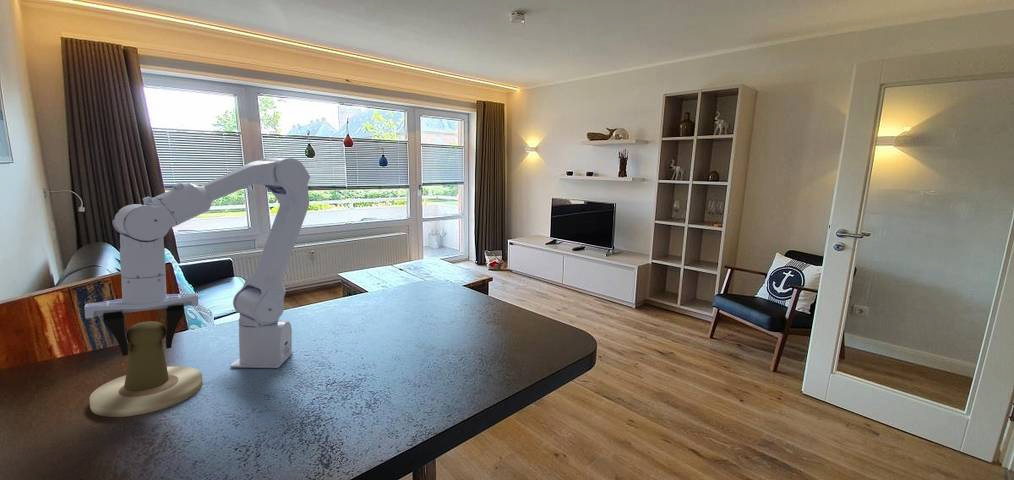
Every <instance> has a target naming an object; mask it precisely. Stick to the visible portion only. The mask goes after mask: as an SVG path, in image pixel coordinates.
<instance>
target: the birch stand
mask: <svg viewBox="0 0 1014 480" xmlns="http://www.w3.org/2000/svg"><path fill="white" fill-rule="evenodd" d="M167 371H168V376H169V380H168V381H167V382H166V383H164V384H163V385H160V386H158V387H155V388H152V389H147V390H139V391H133V390H128V389H126V388H125V387H124V384H125V378H126V374H125V375H122V376H120V377H117V378H114V379H112V380H110V381H107V382H106V383H103V384H102V385H99V387H97V388H96V389H95V390H94V391H93V392H92V393H90V395H89V398H88V399H89V409H90V411H91V413H93V414H95V415H96V416H97V415H98V416H101V417H106V418H124V417H125V418H126V417H132V416H133V417H134V416H139V415H144V414H148V413H154V412H156V411H161V410H163V409H167V408H170V407H173V406H175V405H177V404H179V403H182V402H183V401H185V400H188V399H189V398H190V397H191V398H192V397H193V396H194V395H196V393H198V392H199V390H200V389H201V388H202V387H203V373H202V372H201V371H200V370H198V369H197V368H194V367H190V366H178V365H177V366H172V365H171V366H167Z"/></svg>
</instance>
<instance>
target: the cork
mask: <svg viewBox="0 0 1014 480" xmlns="http://www.w3.org/2000/svg"><path fill="white" fill-rule="evenodd" d="M126 338H127V343H129V344H130V349H129V354H128V355H129V357H128V361H127V366H126V367H127V368H126V374H125V375H126V378H125V384H124V387H125V388H126V389H128V390H133V391H139V390H147V389H152V388H155V387H158V386H160V385H163V384H164V383H166V382H167V381H168V380H169V376H168V371H167V367H168V365H167V361H166V355H165V351H164V350H165V349H164V344H163V340H164V338H166V326H165V325H164V323H162V322H159V321H152V320H151V321H150V320H148V321H143V322H137V323H136V324H133V325H131V326H130V327H128V330H127V332H126Z"/></svg>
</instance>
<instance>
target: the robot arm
mask: <svg viewBox="0 0 1014 480" xmlns="http://www.w3.org/2000/svg"><path fill="white" fill-rule="evenodd" d="M310 178H311V175H310V173H309V172H308V170H307V169H306V167H305V166H304V164H303V163H302V162H301V161H300V160H298V159H296V158H294V157H293V158H292V157H286V158H280V157H279V158H277V157H269V156H268V157H264V158H262V159H260V160H255V161H251V162H249V163H247V164H245V165H243V166H240V167H238V168H236V169H233V170H231V171H229V172H226V173H225V174H223V175H221V176H219V177H216V178H214V179H213V180H211V181H208V182H206V183H205V184H202V185H197V184H195V183H191V182H189V183H186V184H184V183H181V182H178V183H175V184H173V185H172V187H171V188H172V189H171V190H168V191H166V192H163V193H161V194H159V195H158V194H157V195H156V196H154V197H151V196H146V197H143V198H142V201H143V204H140V203H139V204H137V203H135V204H133V203H132V204H128V205H125V206H124V207H122V208H120V209H118V212H117V213H115V216H114V219H112V225H113V228H114V229H115V231H116V232H118V233H119V244H120V247H119V262H120V263H119V265H120V279H121V295H122V296H121V297H122V298H117V299H112V300H105V301H100V302H92V303H91V302H90V303H89V302H88V303H85V305H84V318H85V319H92V318H95V317H99V316H100V317H101V316H102V318H103V320H102V322H103V324H104V326H105V327H106V328H107V329H108V330H109V332H110V333H111V334H112V336H113V337H114V339H115V340H116V342H117V344H118V346H119V349H120V352H121V356H122V357H125V356H128V355H129V345H128V343H129V342H128V340H127V332H126V314H125V313H136V312H143V311H152V310H160V309H161V310H162V309H165V320H166V321H165V322H166V326H165V328H166V334H165V348H166V349H167V350H168V349H171V348H172V346H173V345H172V344H173V340H174V335H175V332H176V330H177V329H178V326H179V323H180V322H181V319H182V318H183V316H184V314H185V307H189V306H191V307H197V306H199V294H198V292H195V293H193V292H192V293H171V294H169V293H167V278H166V277H167V273H166V251H165V250H166V249H165V243H164V237H166V235H167V234H168V232H169V230H170V228H174V227H177V226H179V225H181V224H183V223H184V222H187V221H190V220H192V219H194V218H196V217H198V216H200V215H202V214H204V213H207V212H208V211H209V210H210V209H211V207H212V203H213V202H214V201H216V200H219V199H221V198H224V197H227V196H228V195H230V194H234V193H236V192H239V191H241V190H243V189H246V188H248V187H250V186H251V187H252V186H253V185H263V186H264V187H265V188H266V189H268V190H269V191H270V192H271V193H272V194H273V196H274V198H275V199H276V200H277V202H278V203H279V207H278V209H277V212H276V215H275V217H274V220H273V222H272V223H273V224H272V225H271V228H270V231H269V234H268V236H267V239H266V242H265V243H264V247H263V249H262V252H261V254H260V257H259V260H258V263H257V265H256V268H255V270H254V273H253V274H252V275H250V276H249V277H248V278H247V279H245V280H244V284H243V285H242V287H241V288H240V289H239V290H238V291H237V292H236V294H235V295H234V297H233V299H232V305H233V309H234V310H235V311H236V312H237V313H238V314H239V318H238V338H239V339H238V342H239V345H238V347H239V348H238V349H239V358H237V359H236V360H235V361H233V362H232V363H231V364H230V368H240V369H242V368H246V369H247V368H248V369H249V368H250V369H251V368H257V369H262V368H263V369H278V368H280V367H281V366H282V365H283V364H284V363H285V361H287V360H288V358H289V357H291V355H292V354H293V353H294V351H293V349H292V347H293V344H292V343H293V340H292V339H293V336H292V335H293V334H292V333H293V330H292V324H291V322H290V321H287V320H282V319H280V318H281V316H282V315H283V314H284V311H285V295H286V293H287V291H286V287H285V285H284V282H283V279H284V275H285V273H286V270H287V267H288V265H289V262H290V260H291V259H290V258H291V256H292V254H293V251H294V249H295V245H296V242H297V239H298V237H299V234H300V231H301V229H302V226H303V223H304V221H305V218H306V216H307V212H308V209H309V207H310V195H309V194H310V193H309V187H308V184H309V181H310Z"/></svg>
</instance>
